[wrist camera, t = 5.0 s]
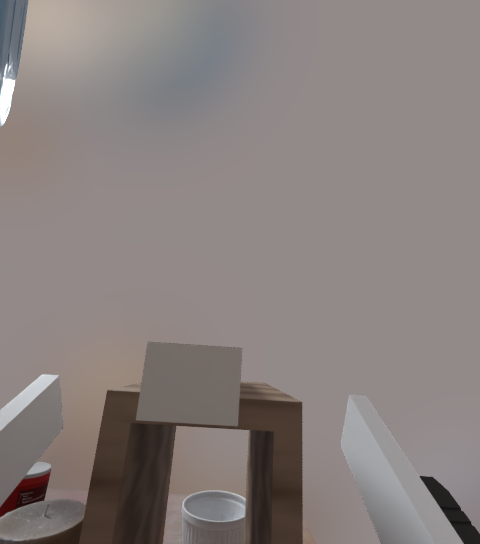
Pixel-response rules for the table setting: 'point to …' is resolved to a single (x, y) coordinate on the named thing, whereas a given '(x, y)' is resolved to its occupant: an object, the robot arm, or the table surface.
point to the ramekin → (213, 518)
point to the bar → (190, 384)
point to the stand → (158, 460)
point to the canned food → (28, 488)
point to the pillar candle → (44, 523)
